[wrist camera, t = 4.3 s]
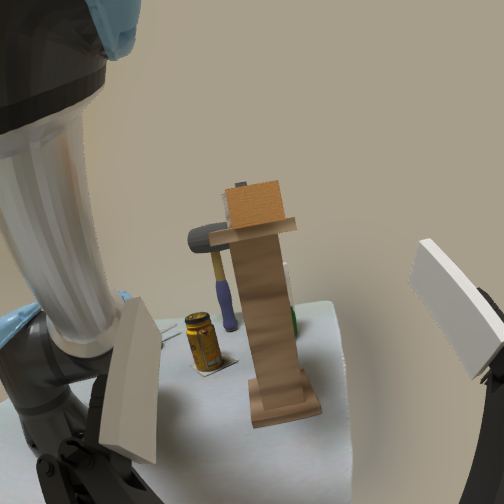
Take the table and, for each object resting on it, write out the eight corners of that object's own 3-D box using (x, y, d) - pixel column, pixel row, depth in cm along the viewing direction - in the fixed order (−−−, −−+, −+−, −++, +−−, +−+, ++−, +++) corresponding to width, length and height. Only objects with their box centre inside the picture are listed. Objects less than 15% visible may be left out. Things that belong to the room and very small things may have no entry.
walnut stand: (321, 413, 35) (294, 217, 32) (253, 428, 34) (207, 233, 31) (304, 375, 47) (279, 219, 44) (249, 386, 46) (215, 231, 43)
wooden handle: (298, 217, 21) (282, 138, 20) (219, 232, 21) (204, 151, 20) (266, 221, 44) (259, 182, 43) (228, 228, 43) (221, 189, 43)
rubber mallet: (256, 324, 78) (236, 219, 75) (246, 335, 71) (223, 220, 68) (218, 325, 83) (197, 227, 80) (206, 335, 76) (183, 229, 73)
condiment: (190, 366, 58) (176, 317, 57) (222, 353, 63) (210, 305, 62) (204, 377, 52) (189, 324, 51) (238, 362, 57) (226, 311, 56)
